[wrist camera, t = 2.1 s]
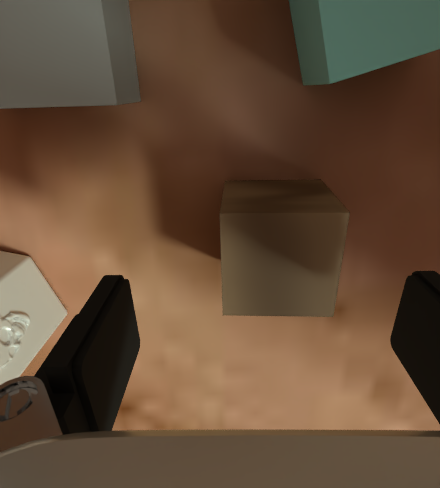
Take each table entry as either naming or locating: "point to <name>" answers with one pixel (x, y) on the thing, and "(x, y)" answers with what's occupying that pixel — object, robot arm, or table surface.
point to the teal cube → (361, 35)
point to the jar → (24, 313)
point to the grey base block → (66, 53)
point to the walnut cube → (281, 247)
